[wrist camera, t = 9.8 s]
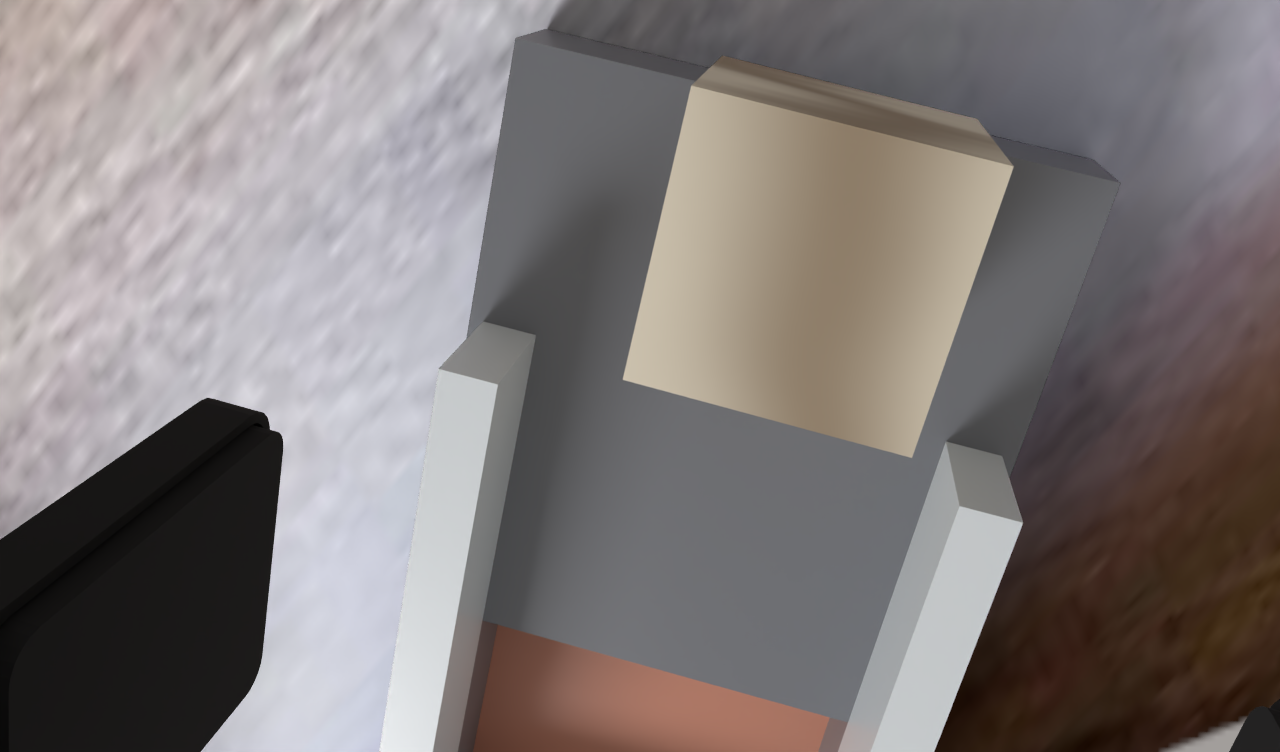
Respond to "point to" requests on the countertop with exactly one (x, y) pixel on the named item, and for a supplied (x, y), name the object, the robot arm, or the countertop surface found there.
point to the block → (815, 253)
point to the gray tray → (699, 472)
